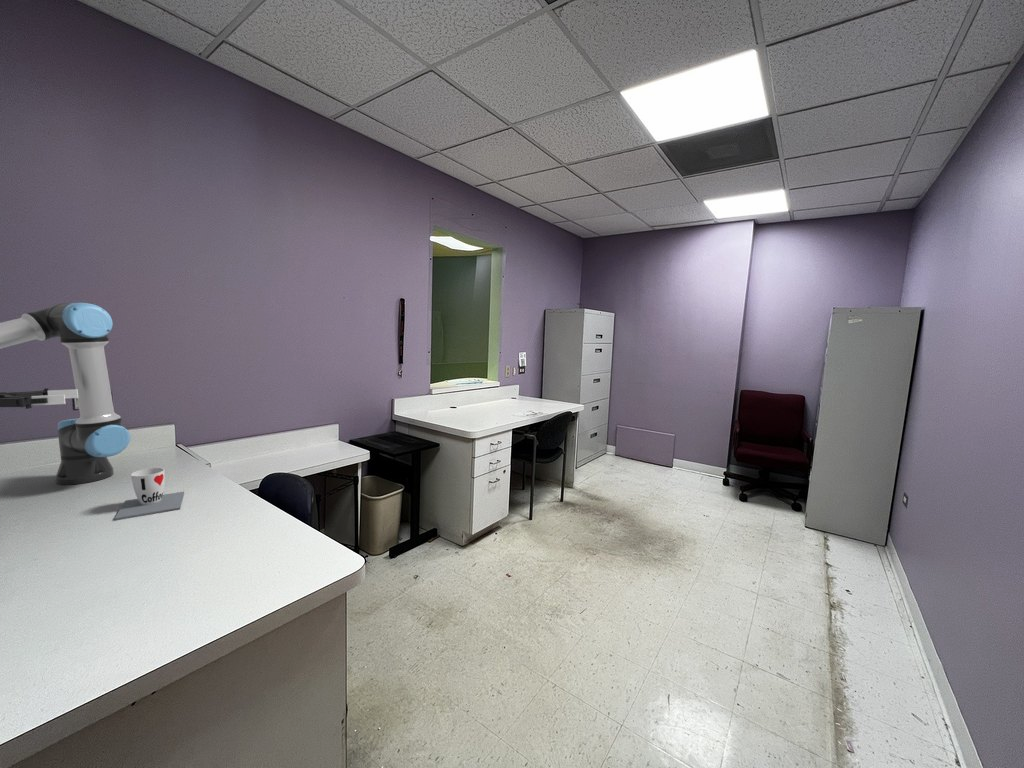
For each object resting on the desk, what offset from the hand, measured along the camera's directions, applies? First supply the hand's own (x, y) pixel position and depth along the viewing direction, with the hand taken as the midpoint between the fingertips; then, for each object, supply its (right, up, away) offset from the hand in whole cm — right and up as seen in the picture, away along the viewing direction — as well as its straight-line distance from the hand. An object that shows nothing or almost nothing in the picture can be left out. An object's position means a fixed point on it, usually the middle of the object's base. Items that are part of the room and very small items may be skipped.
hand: (71, 396), depth 128 cm
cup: (+20, -35, +5) cm, 40 cm away
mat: (+22, -35, +4) cm, 42 cm away
